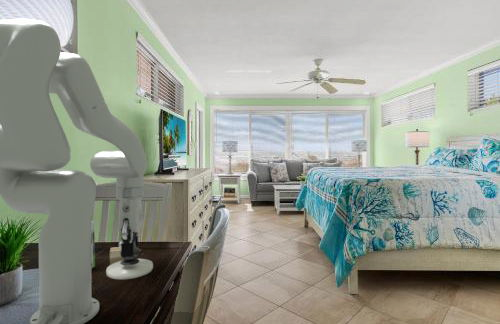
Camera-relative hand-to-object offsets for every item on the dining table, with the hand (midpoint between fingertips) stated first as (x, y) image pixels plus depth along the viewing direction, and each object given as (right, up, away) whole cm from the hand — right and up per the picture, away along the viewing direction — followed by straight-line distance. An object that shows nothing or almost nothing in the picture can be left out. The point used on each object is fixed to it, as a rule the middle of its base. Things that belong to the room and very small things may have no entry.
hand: (129, 252), depth 87 cm
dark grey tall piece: (0, -3, 0) cm, 3 cm away
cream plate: (0, -6, 0) cm, 6 cm away
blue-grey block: (-8, -5, +16) cm, 19 cm away
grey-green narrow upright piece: (-15, -6, 0) cm, 16 cm away
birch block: (-8, -5, +8) cm, 12 cm away
